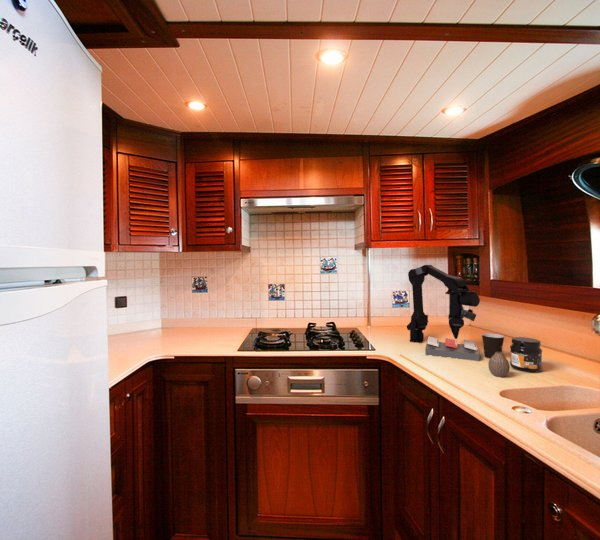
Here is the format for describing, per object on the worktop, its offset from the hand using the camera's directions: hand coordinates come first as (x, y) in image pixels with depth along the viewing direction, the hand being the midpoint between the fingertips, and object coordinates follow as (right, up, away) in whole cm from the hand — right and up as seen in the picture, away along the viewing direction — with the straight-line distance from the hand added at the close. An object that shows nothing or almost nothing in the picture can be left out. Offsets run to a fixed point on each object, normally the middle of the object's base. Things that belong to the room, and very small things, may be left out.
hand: (455, 336), depth 151 cm
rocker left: (-9, -3, +4) cm, 10 cm away
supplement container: (+17, -9, -23) cm, 30 cm away
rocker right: (+6, -4, -2) cm, 7 cm away
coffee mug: (+15, -8, -6) cm, 18 cm away
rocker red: (-2, -3, +1) cm, 4 cm away
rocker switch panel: (-3, -8, -1) cm, 8 cm away
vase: (+2, -9, -30) cm, 31 cm away
